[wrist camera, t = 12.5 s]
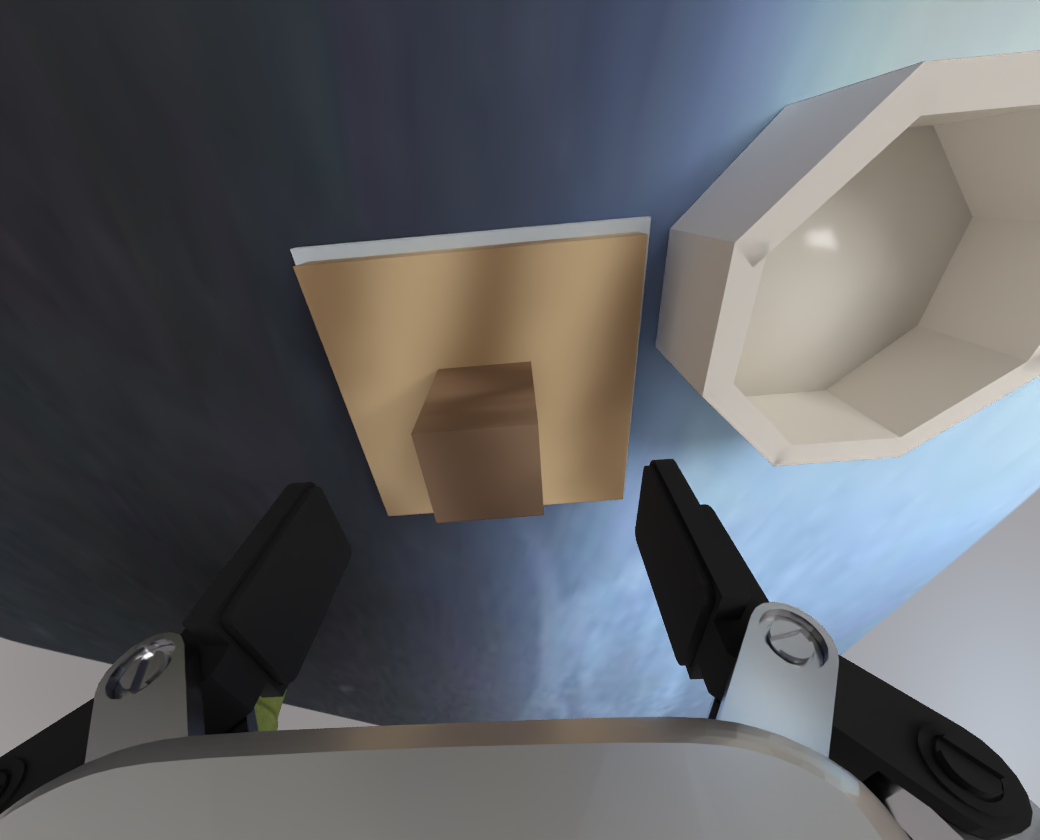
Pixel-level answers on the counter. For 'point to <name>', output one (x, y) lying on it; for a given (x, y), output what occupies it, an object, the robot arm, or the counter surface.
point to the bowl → (867, 264)
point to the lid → (487, 370)
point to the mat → (478, 244)
